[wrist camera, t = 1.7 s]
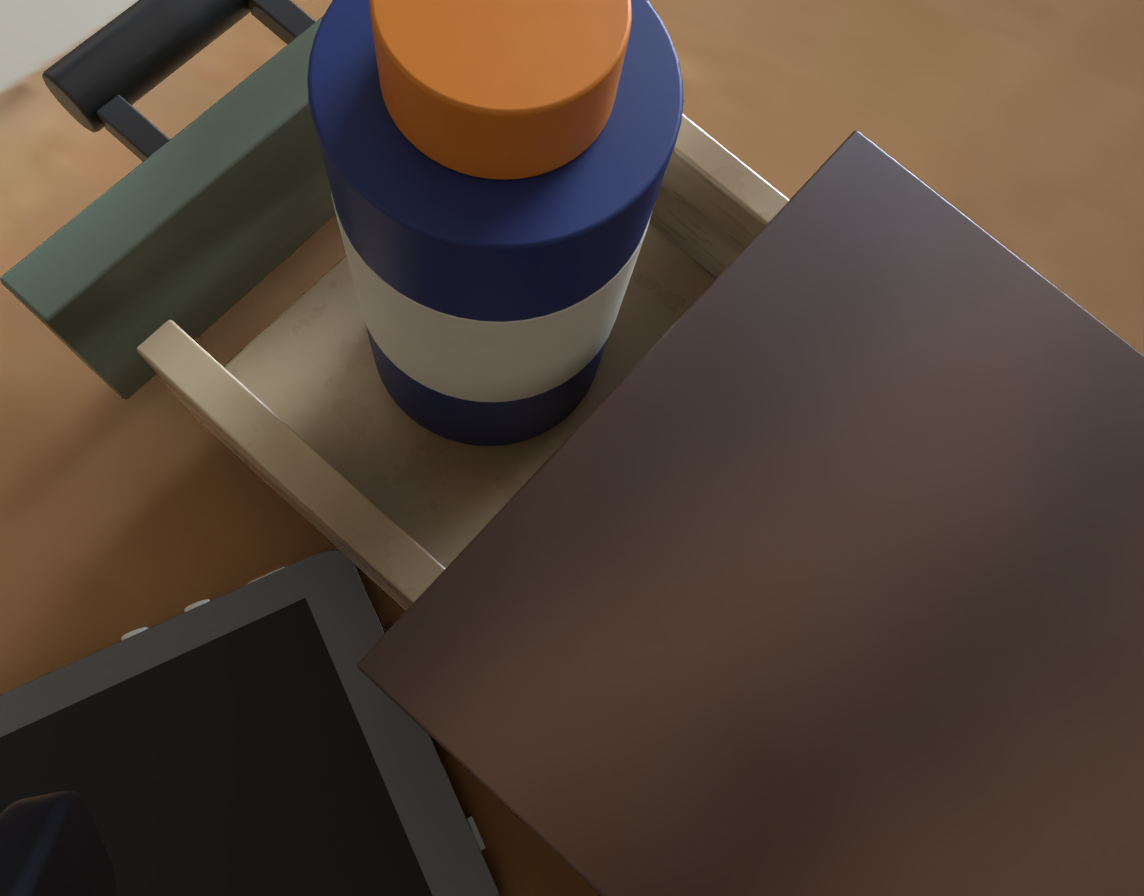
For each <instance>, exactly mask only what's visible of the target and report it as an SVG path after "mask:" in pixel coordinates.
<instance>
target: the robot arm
mask: <svg viewBox="0 0 1144 896" xmlns="http://www.w3.org/2000/svg"><path fill="white" fill-rule="evenodd" d="M0 896H116V879H115V873H114V868H113V865H112V862H111V859H110V857H109V855H108V853H107V850H106V848H105V846H104V843H103V841H102V839H101V837H100V834H99V832H98V830H97V828H96V825H95V823H94V821H93V819H92V816H91V814H90V812H89V809H88V807H87V805H86V803H85V801H84V800H83V798H82V797H81V796H80V795H79V794H78V793H76V792H74V791H61V792H55V793H50V794H45V795H40V796H35V797H30V798H25V799H21V800H18V801H16V802H14V803H13V804H11V805H10V806H8V807H7V808H6V809H5V810H4V811H3V812H2V813H1V814H0Z"/></svg>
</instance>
